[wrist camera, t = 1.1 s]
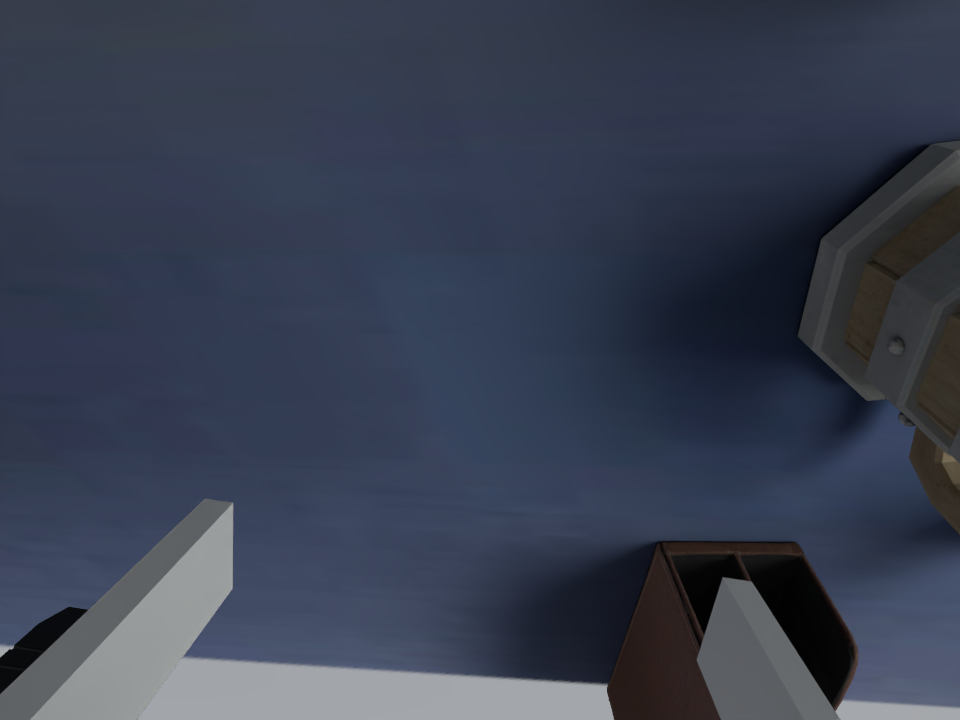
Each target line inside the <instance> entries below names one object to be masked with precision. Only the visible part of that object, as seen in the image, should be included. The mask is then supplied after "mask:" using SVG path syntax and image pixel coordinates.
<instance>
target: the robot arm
mask: <svg viewBox="0 0 960 720" xmlns="http://www.w3.org/2000/svg"><path fill="white" fill-rule="evenodd" d="M232 589H233V503H230V502H224V501H217V500H210V499H204V500H203V501H202V502H201V503H200V504H199V505H198V506H197V507H196V508H195V509H194V510H193V511H191V512H190V513H189V514H188V515H187V516H186V517H185V518H184V519H183V520H182V521H181V522H180V523H179V524H178V525H177V526H176V527H175V528H174V529H173V530H172V531H171V532H169V533H168V534H167V535H166V536H165V537H164V538H163V539H162V540H161V541H160V542H159V543H158V544H157V545H156V546H155V547H154V548H153V549H152V550H151V551H150V552H149V553H148V554H146V555H145V556H144V557H143V558H142V559H141V560H140V561H139V562H138V563H137V564H136V565H135V566H134V567H133V568H132V569H131V570H130V571H129V572H128V573H127V574H126V575H125V576H123V577H122V578H121V579H120V580H119V581H118V582H117V583H116V584H115V585H114V586H113V587H112V588H111V589H110V590H109V591H108V592H107V593H106V594H105V595H104V596H103V597H102V598H100V599H99V600H98V601H97V602H96V603H95V604H94V605H93V606H92V607H91V608H90V609H89V610H86V609H79V608H73V607H68V608H66V609H64V610H62V611H61V612H59V613H57V614H55V615H53V616H52V617H50V618H48V619H46V620H44V621H43V622H41V623H39V624H38V625H37V626H35V627H34V628H33V629H32V630H31V631H30V632H29V633H28V634H26V635H25V636H24V637H23V638H22V639H21V640H20V641H19V642H17V643H16V644H15V645H14V648H13V649H12V650H11V649H9V650H8V651H7V652H6V653H5V654H4V655H3V656H2V657H0V720H137V719H138V718H139V717H140V715H141V714H142V712H143V711H144V710H145V708H146V707H147V705H148V704H149V703H150V701H151V700H152V699H153V697H154V696H155V694H156V693H157V691H158V690H159V689H160V688H161V686H162V685H163V683H164V682H165V681H166V679H167V678H168V677H169V675H170V674H171V673H172V671H173V670H174V668H175V667H176V666H177V664H178V663H179V661H180V660H181V659H182V657H183V656H184V655H185V653H186V652H187V651H188V649H189V648H190V646H191V645H192V644H193V642H194V641H195V640H196V638H197V637H198V635H199V634H200V633H201V631H202V630H203V629H204V627H205V626H206V624H207V623H208V622H209V620H210V619H211V618H212V616H213V615H214V613H215V612H216V611H217V609H218V608H219V607H220V605H221V604H222V602H223V601H224V600H225V598H226V597H227V596H228V594H229V593H230V591H231V590H232ZM697 662H698V665H699V667H700V670H701V672H702V675H703V677H704V679H705V682H706V684H707V687H708V689H709V692H710V694H711V696H712V699H713V701H714V704H715V706H716V709H717V711H718V714H719V716H720V718H721V720H840V718H839V717H838V715H837V714H836V712H835V711H834V709H833V707H832V706H831V704H830V703H829V701H828V700H827V698H826V697H825V695H824V693H823V692H822V690H821V689H820V687H819V686H818V684H817V683H816V681H815V679H814V678H813V676H812V675H811V673H810V672H809V670H808V669H807V667H806V665H805V664H804V662H803V661H802V659H801V658H800V656H799V655H798V653H797V651H796V650H795V648H794V647H793V645H792V644H791V642H790V641H789V639H788V637H787V636H786V634H785V633H784V631H783V630H782V628H781V627H780V625H779V623H778V622H777V620H776V619H775V617H774V616H773V614H772V612H771V611H770V609H769V608H768V606H767V605H766V603H765V602H764V600H763V598H762V597H761V595H760V594H759V592H758V591H757V589H756V588H755V586H754V584H753V583H752V582H751V581H744V580H737V579H731V578H724V577H723V578H722V581H721V584H720V587H719V591H718V594H717V597H716V600H715V603H714V607H713V610H712V613H711V616H710V619H709V622H708V626H707V629H706V632H705V635H704V638H703V642H702V645H701V648H700V651H699V654H698V657H697Z"/></svg>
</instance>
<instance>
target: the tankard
mask: <svg viewBox="0 0 960 720" xmlns="http://www.w3.org/2000/svg"><path fill="white" fill-rule="evenodd" d="M798 337H799V338H800V339H801V340H802V341H803V342H804V343H805V344H806V345H807V346H808V347H809V348H810V349H811V350H812V351H813V352H814V353H816V354H817V355H818V356H819V357H820V358H821V359H822V360H823V361H824V362H825V363H826V364H827V365H829V366H830V367H831V368H832V369H833V370H834V371H835V372H836V373H837V374H838V375H839V376H840V377H842V378H843V379H844V380H845V381H846V382H847V383H848V384H849V385H850V386H851V387H852V388H853V389H855V390H856V391H857V392H858V393H859V394H860V395H861V396H862V397H863V398H864V399H865V400H866V401H873V400H882V399H888V400H889V401H890V402H891V403H892V404H893V405H894V406H895V407H896V408H897V409H898V410H900V411H901V413H900V414H899V417H898V419H899V421H900V422H901V424H903V425H905V426H916V429H915V433H914V437H913V442H912V446H911V451H910V455H909V459H910V461H911V463H912V465H913V467H914V469H915V471H916V473H917V475H918V477H919V479H920V481H921V483H922V486H923V488H924V490H925V492H926V494H927V496H928V498H929V500H930V502H931V504H932V505H933V506H934V507H935V508H936V510H937V511H938V512H939V513H940V514H941V515H942V516H943V517H944V518H945V519H946V521H947V522H948V523H949V524H950V525H951V526H952V527H953V528H954V529H955V530H956V531H957V533H958V534H959V535H960V141H952V142H944V143H936V144H931V145H930V146H929V147H928V148H926V149H925V150H924V151H923V152H922V153H921V154H919V155H918V156H917V157H916V158H915V159H914V160H913V161H911V162H910V163H909V164H908V165H907V166H906V167H904V168H903V169H902V170H901V171H900V172H899V173H897V174H896V175H895V176H894V177H893V178H892V179H890V180H889V181H888V182H887V183H886V184H885V185H883V186H882V187H881V188H880V189H879V190H878V191H876V192H875V193H874V194H873V195H872V196H871V197H869V198H868V199H867V200H866V201H865V202H864V203H862V204H861V205H860V206H859V207H858V208H857V209H856V210H854V211H853V212H852V213H851V214H850V215H849V216H847V217H846V218H845V219H844V220H843V221H842V222H840V223H839V224H838V225H837V226H836V227H835V228H833V229H832V230H831V231H830V232H829V233H828V234H826V235H825V236H824V237H823V238H822V239H821V242H820V247H819V251H818V255H817V259H816V263H815V267H814V271H813V275H812V279H811V283H810V287H809V292H808V296H807V300H806V304H805V308H804V312H803V316H802V320H801V324H800V328H799V333H798Z"/></svg>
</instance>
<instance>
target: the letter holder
mask: <svg viewBox="0 0 960 720" xmlns="http://www.w3.org/2000/svg"><path fill="white" fill-rule="evenodd" d="M723 577H724V578H731V579H737V580H744V581H751V582H752V583H753V584H754V586H755V588H756V589H757V591H758V592H759V594H760V595H761V597H762V598H763V600H764V602H765V603H766V605H767V606H768V608H769V609H770V611H771V612H772V614H773V616H774V617H775V619H776V620H777V622H778V623H779V625H780V627H781V628H782V630H783V631H784V633H785V634H786V636H787V637H788V639H789V641H790V642H791V644H792V645H793V647H794V648H795V650H796V651H797V653H798V655H799V656H800V658H801V659H802V661H803V662H804V664H805V665H806V667H807V669H808V670H809V672H810V673H811V675H812V676H813V678H814V679H815V681H816V683H817V684H818V686H819V687H820V689H821V690H822V692H823V693H824V695H825V697H826V698H827V700H828V701H829V703H830V704H831V706H832V707H833V709H834V711H836V710H837V708H838V706H839V705H840V703H841V702H842V700H843V698H844V696H845V694H846V692H847V690H848V688H849V686H850V684H851V682H852V680H853V677H854V674H855V671H856V668H857V665H858V648H857V645H856V642H855V640H854V638H853V636H852V634H851V632H850V630H849V629H848V627H847V625H846V624H845V622H844V621H843V619H842V617H841V615H840V614H839V612H838V610H837V609H836V607H835V605H834V604H833V602H832V600H831V598H830V597H829V595H828V593H827V592H826V590H825V588H824V586H823V585H822V583H821V582H820V580H819V578H818V577H817V575H816V573H815V572H814V570H813V568H812V567H811V565H810V563H809V561H808V560H807V558H806V556H805V554H804V552H803V550H802V549H801V547H800V546H799V545H798V544H797V543H796V542H792V543H761V542H659V543H658V544H657V547H656V549H655V553H654V556H653V559H652V562H651V566H650V569H649V572H648V575H647V577H646V580H645V583H644V586H643V589H642V592H641V594H640V597H639V600H638V602H637V605H636V608H635V611H634V614H633V616H632V619H631V622H630V625H629V627H628V630H627V633H626V636H625V639H624V642H623V645H622V648H621V650H620V653H619V656H618V659H617V662H616V665H615V668H614V671H613V673H612V676H611V679H610V682H609V685H608V687H607V693H608V697H609V701H610V705H611V708H612V712H613V716H614V720H721V718H720V716H719V714H718V711H717V709H716V706H715V704H714V701H713V699H712V696H711V694H710V692H709V689H708V687H707V684H706V682H705V679H704V677H703V675H702V672H701V670H700V667H699V665H698V662H697V657H698V654H699V651H700V648H701V645H702V642H703V638H704V635H705V632H706V629H707V626H708V622H709V619H710V616H711V613H712V610H713V607H714V603H715V600H716V597H717V594H718V591H719V587H720V584H721V581H722V578H723Z"/></svg>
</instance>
